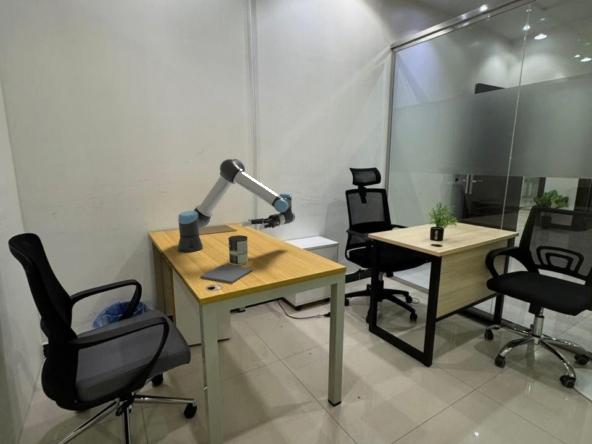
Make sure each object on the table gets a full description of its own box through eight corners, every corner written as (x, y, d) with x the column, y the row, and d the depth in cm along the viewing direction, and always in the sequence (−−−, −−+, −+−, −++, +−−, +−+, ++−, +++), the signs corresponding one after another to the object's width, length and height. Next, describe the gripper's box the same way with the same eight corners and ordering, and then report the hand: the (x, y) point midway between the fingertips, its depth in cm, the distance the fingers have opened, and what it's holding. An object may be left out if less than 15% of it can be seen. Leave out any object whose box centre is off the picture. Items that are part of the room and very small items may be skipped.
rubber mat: (200, 277, 149) (200, 275, 148) (223, 266, 165) (222, 264, 165) (232, 283, 142) (232, 281, 142) (252, 270, 158) (252, 269, 158)
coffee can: (228, 265, 166) (227, 240, 163) (230, 259, 176) (229, 235, 173) (247, 265, 167) (246, 239, 164) (248, 259, 177) (248, 235, 174)
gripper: (291, 228, 185) (267, 235, 169) (261, 223, 200) (236, 229, 184) (291, 216, 184) (267, 221, 167) (261, 212, 199) (235, 217, 182)
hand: (250, 225), depth 175 cm, fingers open, 13 cm apart
